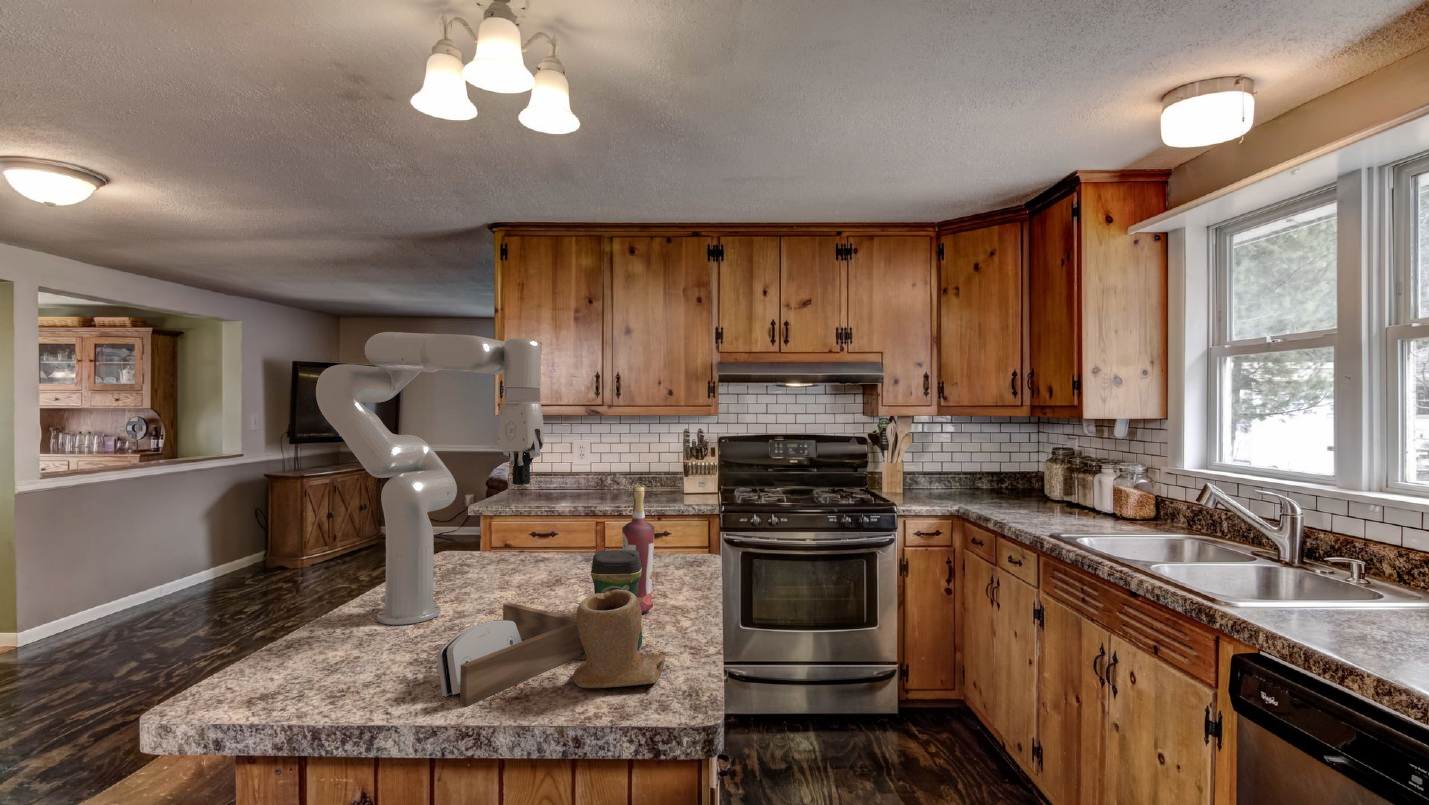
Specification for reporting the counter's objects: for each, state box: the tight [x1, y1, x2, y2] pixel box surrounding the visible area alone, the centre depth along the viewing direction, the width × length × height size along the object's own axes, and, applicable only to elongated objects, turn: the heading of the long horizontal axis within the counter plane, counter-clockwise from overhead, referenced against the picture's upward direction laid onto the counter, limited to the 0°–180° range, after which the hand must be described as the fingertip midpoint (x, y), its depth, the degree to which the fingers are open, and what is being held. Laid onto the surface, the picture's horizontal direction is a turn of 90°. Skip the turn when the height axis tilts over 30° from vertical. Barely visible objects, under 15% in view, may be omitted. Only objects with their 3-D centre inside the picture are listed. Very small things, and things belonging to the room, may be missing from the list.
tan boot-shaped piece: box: [572, 590, 666, 689], centre depth 106 cm, size 15×12×15 cm
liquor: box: [621, 486, 656, 614], centre depth 145 cm, size 7×7×28 cm
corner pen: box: [459, 602, 586, 708], centre depth 114 cm, size 22×26×6 cm
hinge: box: [436, 620, 523, 698], centre depth 108 cm, size 17×5×10 cm, turn 157°
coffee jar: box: [590, 549, 643, 651], centre depth 122 cm, size 10×8×19 cm
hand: (521, 484), depth 135 cm, fingers closed
